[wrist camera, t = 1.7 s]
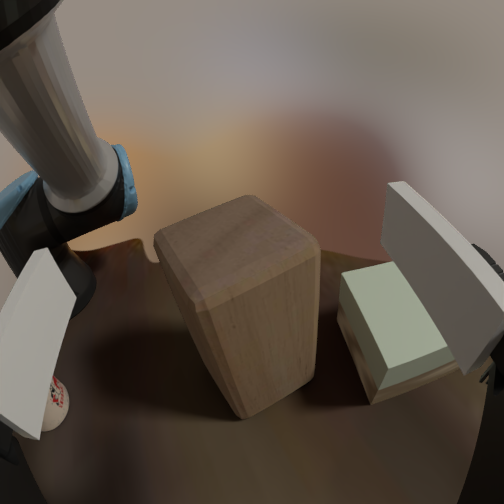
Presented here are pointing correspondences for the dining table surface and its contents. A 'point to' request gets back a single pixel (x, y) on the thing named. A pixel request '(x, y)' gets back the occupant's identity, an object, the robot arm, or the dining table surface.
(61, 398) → the teacup with lid
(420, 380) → the tower base slab
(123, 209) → the robot arm
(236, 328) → the block
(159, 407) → the dining table surface
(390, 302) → the tower top slab
